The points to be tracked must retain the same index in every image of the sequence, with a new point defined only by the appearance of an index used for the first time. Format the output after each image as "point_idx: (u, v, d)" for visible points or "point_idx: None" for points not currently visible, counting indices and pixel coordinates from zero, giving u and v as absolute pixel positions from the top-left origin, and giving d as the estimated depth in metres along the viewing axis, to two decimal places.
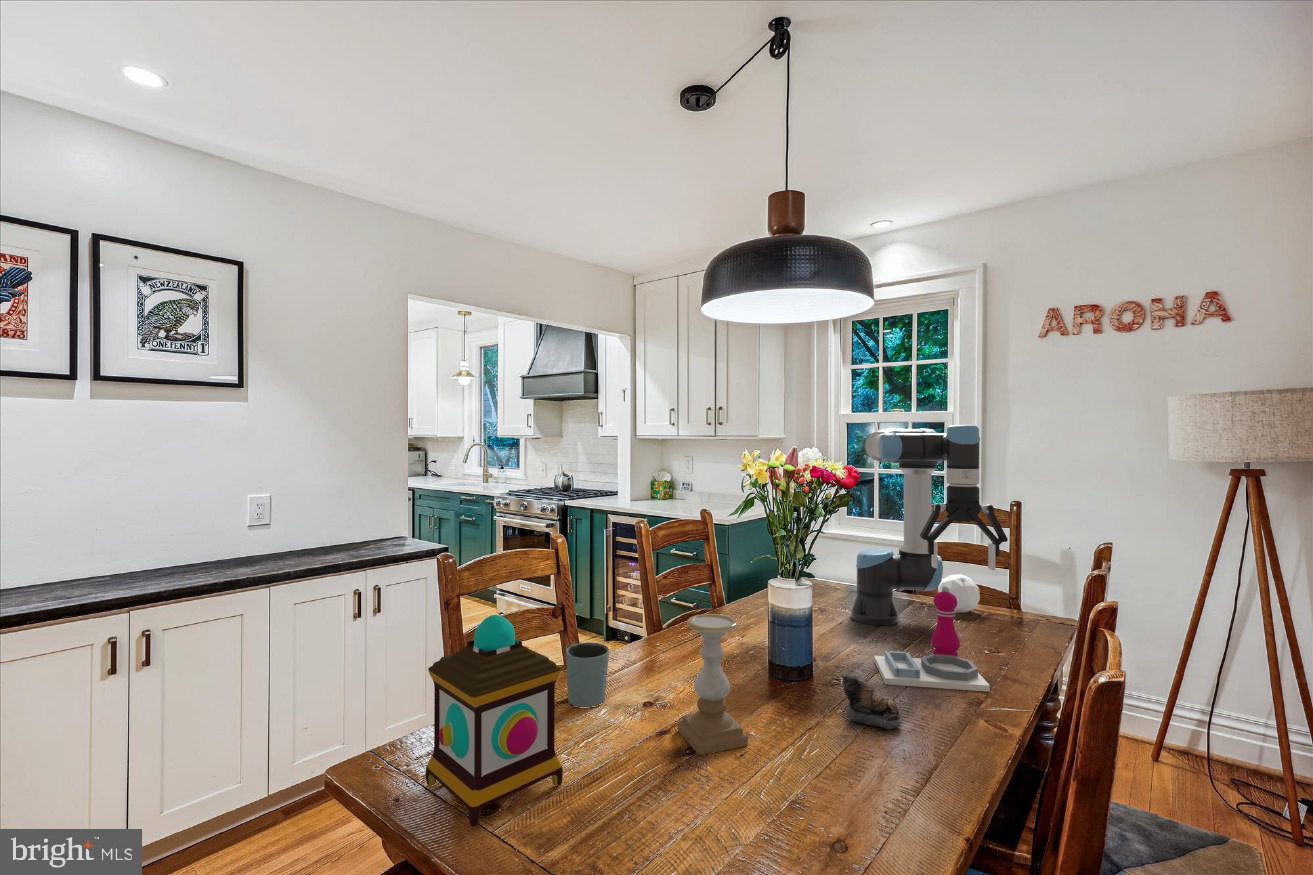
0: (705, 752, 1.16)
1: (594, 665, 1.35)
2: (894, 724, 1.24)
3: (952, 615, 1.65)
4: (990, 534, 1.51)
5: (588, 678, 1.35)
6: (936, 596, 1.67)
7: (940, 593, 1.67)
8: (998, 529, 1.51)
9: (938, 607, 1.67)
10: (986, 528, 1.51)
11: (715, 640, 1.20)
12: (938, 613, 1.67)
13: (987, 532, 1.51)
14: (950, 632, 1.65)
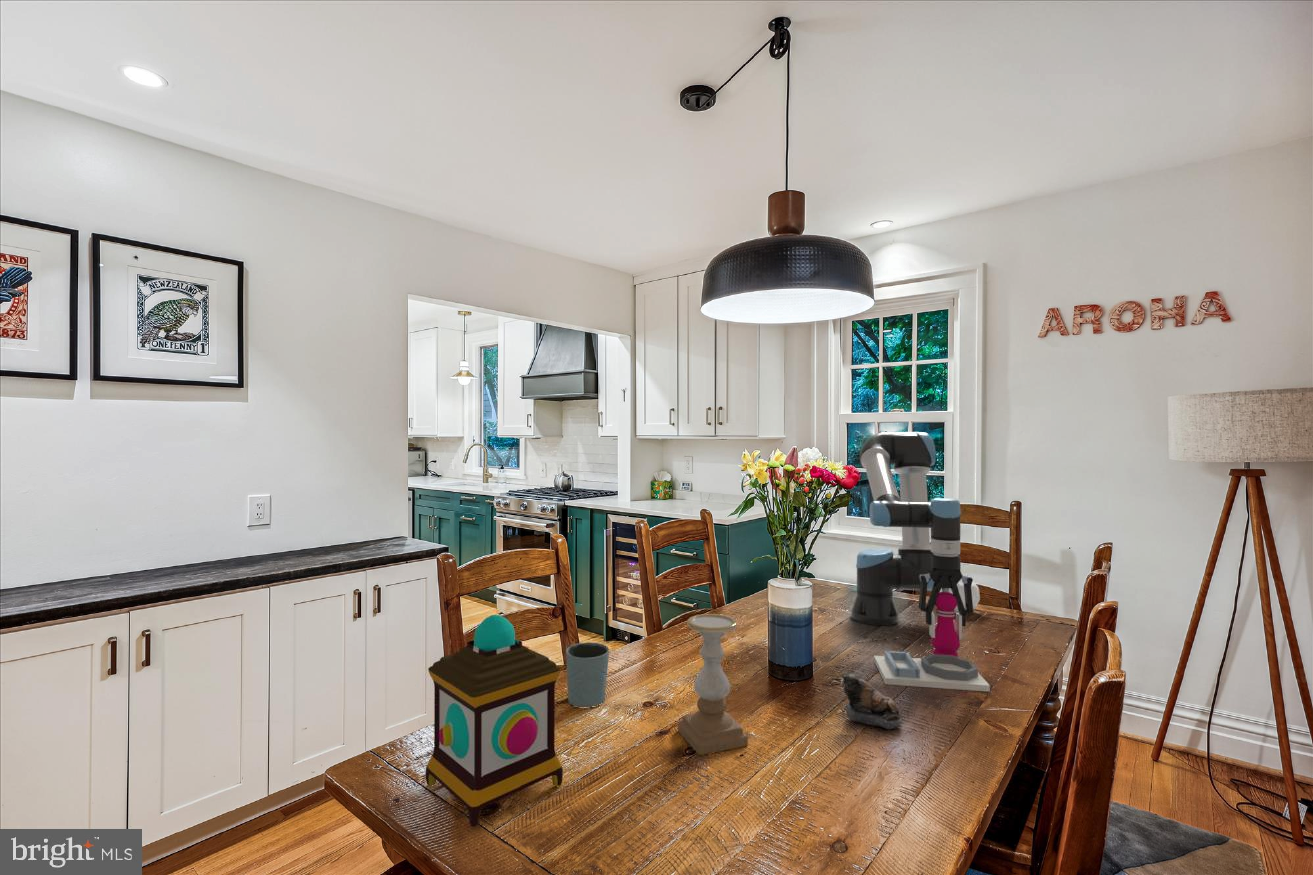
0: (705, 752, 1.16)
1: (594, 665, 1.35)
2: (894, 724, 1.24)
3: (952, 615, 1.65)
4: (960, 605, 1.66)
5: (588, 678, 1.35)
6: None
7: (940, 593, 1.67)
8: (968, 600, 1.65)
9: (938, 607, 1.67)
10: (959, 598, 1.66)
11: (715, 640, 1.20)
12: (938, 613, 1.67)
13: (958, 602, 1.66)
14: (950, 632, 1.65)
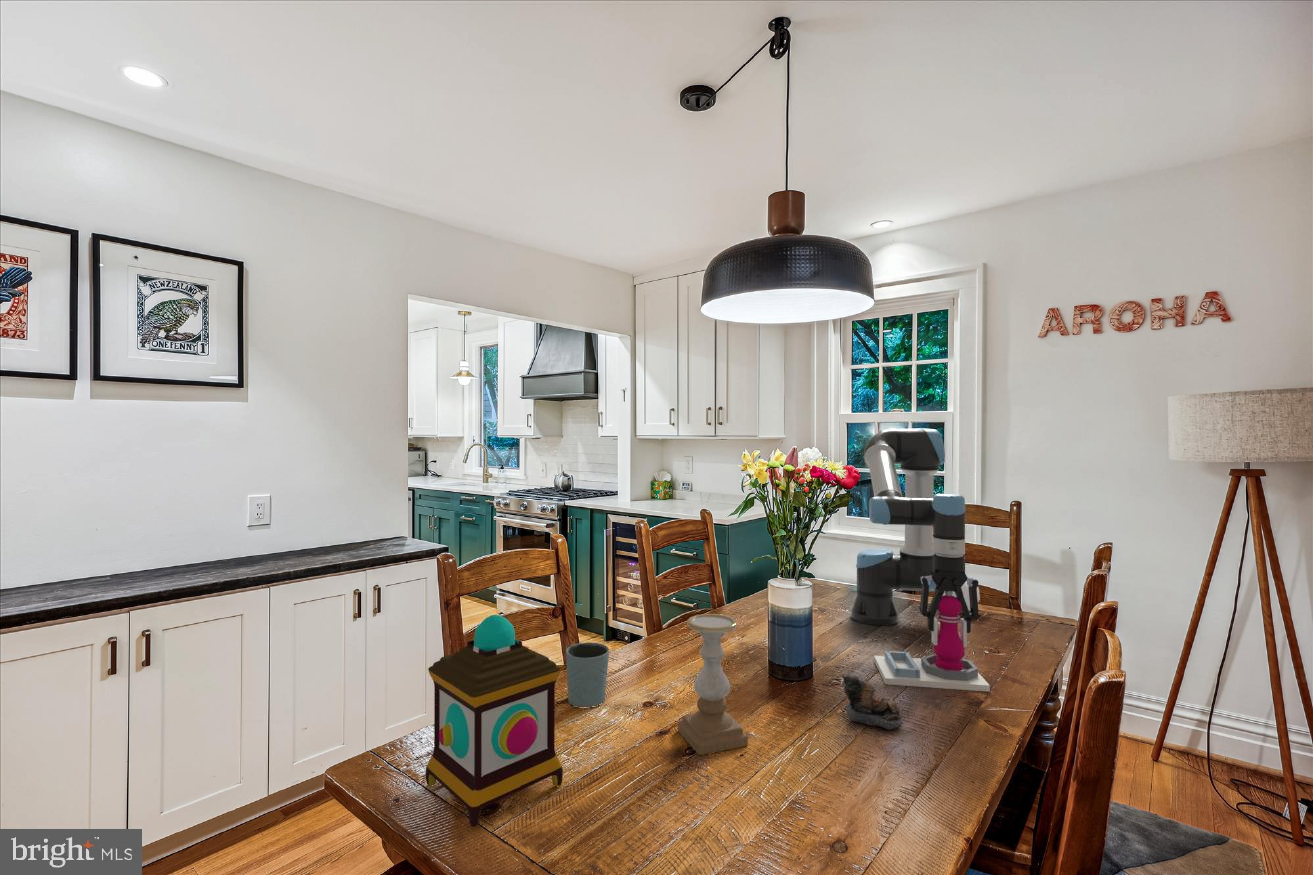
0: (705, 752, 1.16)
1: (594, 665, 1.35)
2: (895, 724, 1.24)
3: (956, 621, 1.52)
4: (965, 609, 1.52)
5: (588, 678, 1.35)
6: None
7: (943, 597, 1.54)
8: (974, 605, 1.52)
9: (941, 612, 1.53)
10: (963, 602, 1.52)
11: (714, 640, 1.20)
12: (941, 618, 1.53)
13: (963, 606, 1.53)
14: (954, 639, 1.52)
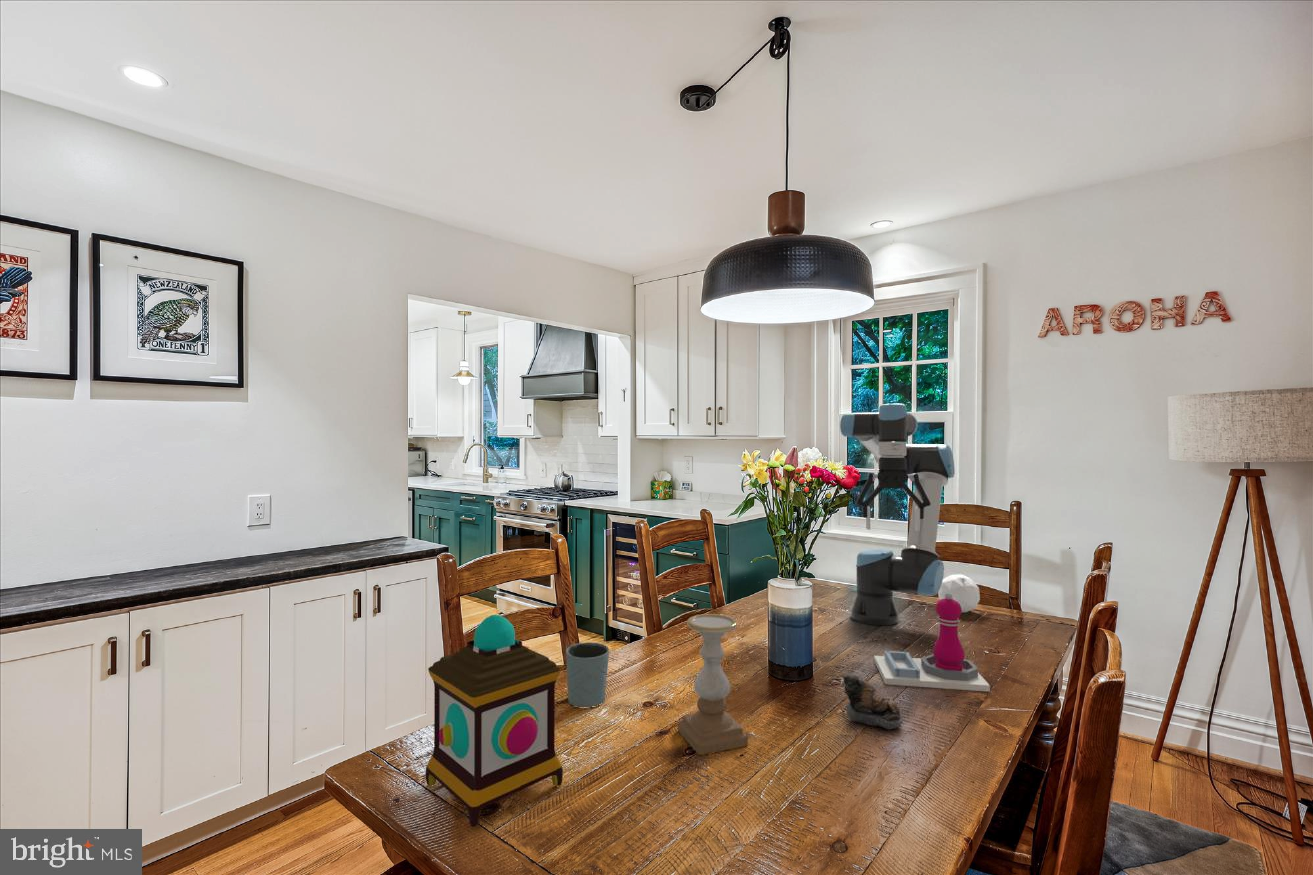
0: (705, 752, 1.16)
1: (594, 665, 1.35)
2: (895, 724, 1.24)
3: (956, 624, 1.52)
4: (915, 499, 1.73)
5: (588, 678, 1.35)
6: (939, 603, 1.54)
7: (943, 600, 1.54)
8: (922, 495, 1.72)
9: (941, 615, 1.53)
10: (912, 494, 1.73)
11: (715, 640, 1.20)
12: (941, 622, 1.54)
13: (913, 497, 1.73)
14: (954, 643, 1.52)
